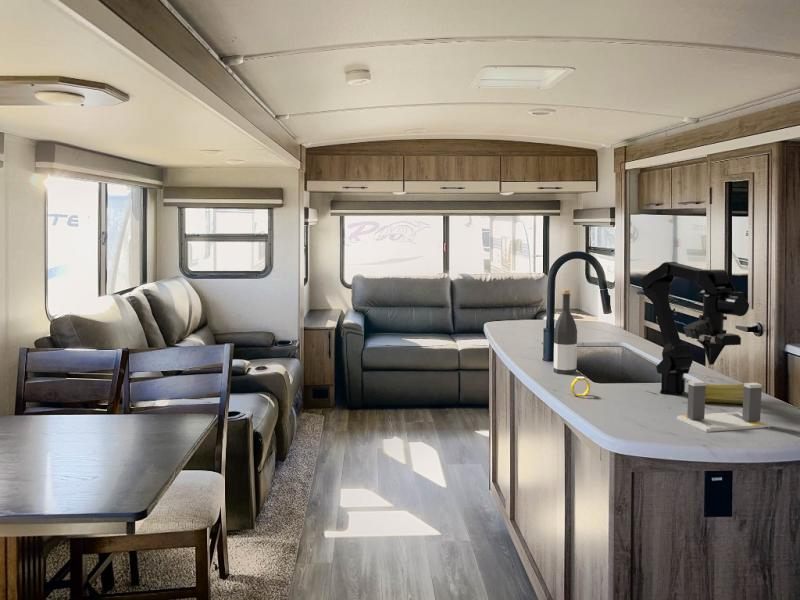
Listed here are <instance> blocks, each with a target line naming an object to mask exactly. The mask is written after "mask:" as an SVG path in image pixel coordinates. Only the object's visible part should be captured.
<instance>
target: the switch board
mask: <svg viewBox="0 0 800 600" xmlns="http://www.w3.org/2000/svg"><path fill="white" fill-rule="evenodd" d="M742 417H743V412H742V413H741V412H739V411H726V412H725V411H724V412H717V413H704V419H694V420H692V419H690V418H688V417H687V414H681V415H677V420H679V421H681V422H684V423H685V424H688V425H690V426H693V427H694V428H696V429H699V430H701V431H703V432H705V433H708V432H709V433H710V432H721V431H736V430H739V431H740V430H749V429H751V430H752V429H763V428H764V429H766V428H765V427H768V428H771V424H770V423H768V422H765V421H762V420H760V421H757V422H747V421H745V420H742Z"/></svg>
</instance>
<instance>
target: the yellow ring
mask: <svg viewBox="0 0 800 600" xmlns="http://www.w3.org/2000/svg"><path fill="white" fill-rule="evenodd" d="M578 381H585V382H586V390H585V391H584V392H583V393H576V392H575V384H576V383H577V382H578ZM590 390H591V384H590V382H589V380H588V379H586V377H585V376H576V377H575V378H574V380H572V382H571V384H570V391H571V393H572V394H573V395H574V396H575V397H583V396H584V397H585V396H587V395H588V394H589V393H590Z"/></svg>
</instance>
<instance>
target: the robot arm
mask: <svg viewBox="0 0 800 600" xmlns="http://www.w3.org/2000/svg"><path fill="white" fill-rule="evenodd" d="M675 278H680V279H684V280H686V281H690V282H694V283H696V285H697V286H698V287H699V288H702V290H701V291H699V292H698V293H697V296H699V297H702V298H703V300H702V301H703V305H702V314H699V316H698V320H696V321H692V322H691V323H688V324H686V325H684V326H683V331H684V333H685V337H686V338H691V339H693V340H695V339H696V341H697V342H698V343H699V344H700V345H702V347H703V349H704V353H705V356H706V360H707V362H708V364H709V365H712V366H713V365H714V364H715V363H716V361H717V359H718V358H719V355H720V354H721V353H722V351H723V350H724V348H725V347H726V346H741V345H742V337H741V336H740V335H739V334H736V333H732V332H731V333H729V332H728V333H727V330H726V329H724V321H727V320H728V316H726V315H729V316H736V317H743V316H745V315H746V314H748V311H749V308H750V303H749V300H748V299H747V298H746V297H745V293H744V292H743V291H737V290H736V288H735V285H734V284H733V282H732V281H731V278H730V276H729V274H728V271H726V270H725V269H703V268H699V267H693V266H691V265H686V264H684V263H683V264H682V263H678V262H677V261H664V262H663V263H661V264H660V265H659V266H658V267H656V268H654V269H652V270H650V271H649V272H648V273H647V274H645V275H644V276H643V277H642V280H641V281H640V286H641V288H642V291H643V294H644V296H645V297H646V298H648V300H649V301H650V302H651V304H652V306H653V309H654V313H655V317H656V320H657V324H658V327H659V330H660V334H661V338H662V340H663V349H662V352H661V358H662V360H661V361H659V363H658V364H657V365H656V372H657V374H660V375H661V385H660V386H661V387H660V391H659V393H660V394H665V393H666V394H667V395H676V396H682V395H683V394H684V393H685V391H686V377H685V376H684V375H685V374H686V375H687V374H689V372H690V369H691V367H692V364H693V361H694V360H693V357H694V355H693V354H692V352H691V351H692V350H691V346H690V344H687V343H685V344H684V343H683V342H682V341H681V338H680V337H681V336H680V334H679V332H678V327H677V324H676V321H675V318H674V315H673V311H672V308H671V305H670V301H669V297H670V292H671V286H670V285H672V283H674V281H675ZM682 393H683V394H682Z"/></svg>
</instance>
